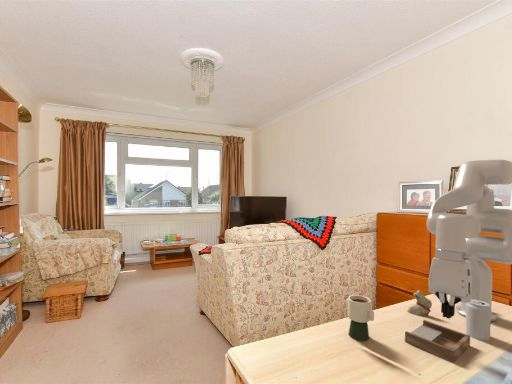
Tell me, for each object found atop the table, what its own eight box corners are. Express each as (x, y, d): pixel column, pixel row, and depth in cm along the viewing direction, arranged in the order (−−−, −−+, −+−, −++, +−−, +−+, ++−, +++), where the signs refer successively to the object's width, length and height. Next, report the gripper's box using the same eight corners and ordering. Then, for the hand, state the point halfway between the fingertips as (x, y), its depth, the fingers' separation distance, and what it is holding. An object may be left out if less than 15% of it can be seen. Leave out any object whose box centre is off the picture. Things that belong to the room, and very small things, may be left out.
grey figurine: (427, 321, 104) (428, 294, 104) (405, 314, 110) (405, 288, 110) (432, 317, 108) (433, 291, 108) (410, 310, 114) (411, 285, 114)
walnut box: (424, 331, 97) (424, 319, 97) (469, 348, 86) (470, 335, 86) (404, 344, 88) (405, 332, 88) (453, 365, 78) (453, 351, 78)
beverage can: (494, 344, 89) (495, 307, 89) (471, 342, 90) (472, 305, 90) (482, 334, 95) (483, 299, 95) (461, 332, 97) (462, 297, 97)
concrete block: (422, 330, 95) (422, 324, 95) (442, 338, 90) (442, 332, 90) (408, 339, 89) (409, 333, 89) (429, 348, 84) (429, 341, 84)
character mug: (380, 344, 88) (381, 303, 88) (364, 350, 84) (365, 307, 84) (353, 329, 97) (354, 291, 97) (338, 333, 94) (339, 294, 94)
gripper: (484, 259, 81) (482, 323, 81) (427, 250, 93) (425, 305, 93) (476, 262, 76) (474, 330, 76) (418, 252, 88) (415, 310, 88)
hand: (447, 316), depth 84 cm, fingers closed
